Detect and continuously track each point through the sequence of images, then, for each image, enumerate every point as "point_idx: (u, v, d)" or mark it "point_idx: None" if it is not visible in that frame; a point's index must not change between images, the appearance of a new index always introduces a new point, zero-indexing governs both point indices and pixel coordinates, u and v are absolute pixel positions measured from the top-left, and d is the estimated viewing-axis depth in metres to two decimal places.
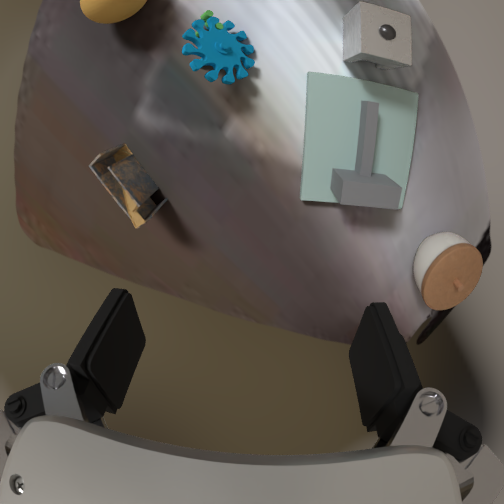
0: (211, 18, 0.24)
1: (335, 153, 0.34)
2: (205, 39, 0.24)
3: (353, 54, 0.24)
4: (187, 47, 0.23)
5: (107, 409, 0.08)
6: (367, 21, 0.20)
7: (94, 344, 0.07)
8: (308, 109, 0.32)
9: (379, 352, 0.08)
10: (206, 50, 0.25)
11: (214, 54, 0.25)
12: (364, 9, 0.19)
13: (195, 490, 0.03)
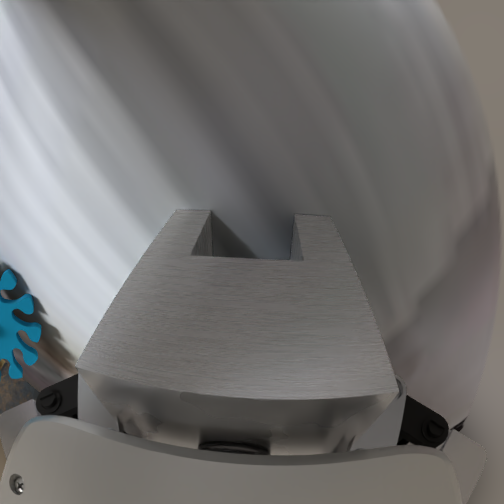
0: None
1: None
2: None
3: None
4: None
5: None
6: (142, 429, 0.06)
7: None
8: None
9: None
10: None
11: None
12: (111, 400, 0.05)
13: (195, 490, 0.03)
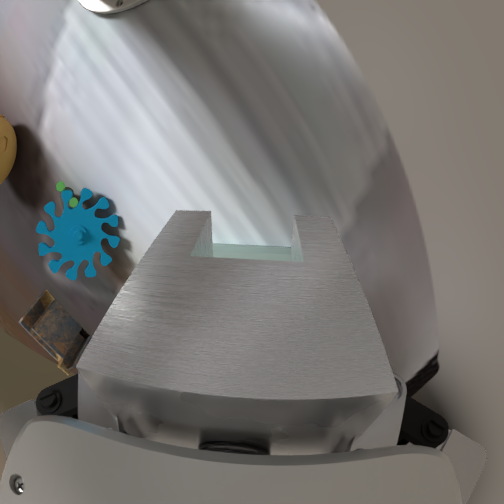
0: (62, 194, 0.23)
1: None
2: (58, 231, 0.23)
3: None
4: (40, 249, 0.22)
5: None
6: (143, 429, 0.06)
7: None
8: None
9: None
10: (60, 246, 0.24)
11: (69, 248, 0.25)
12: (111, 400, 0.05)
13: (195, 490, 0.03)
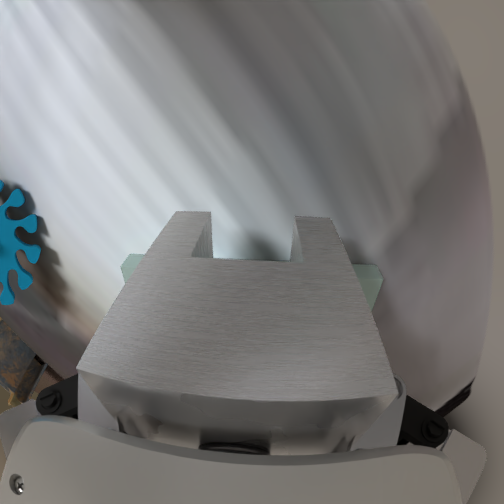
0: None
1: None
2: None
3: None
4: None
5: None
6: (143, 430, 0.06)
7: None
8: None
9: None
10: None
11: None
12: (111, 401, 0.05)
13: (195, 490, 0.03)
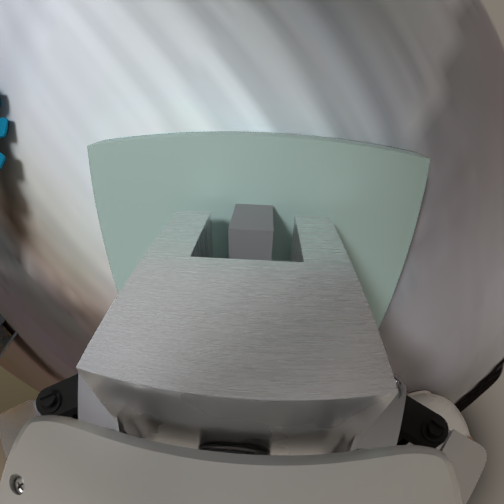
0: None
1: None
2: None
3: None
4: None
5: None
6: (143, 430, 0.06)
7: None
8: (106, 242, 0.13)
9: None
10: None
11: None
12: (111, 400, 0.05)
13: (195, 490, 0.03)
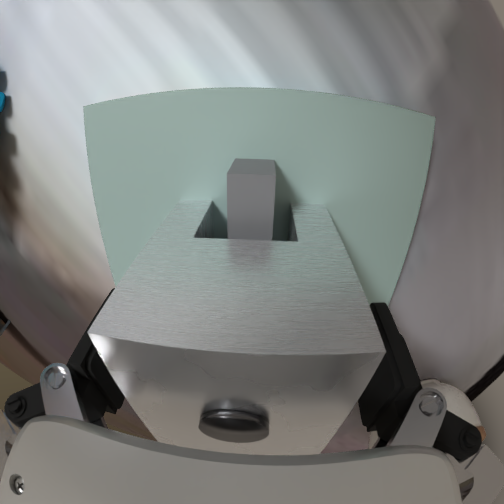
0: None
1: None
2: None
3: None
4: None
5: (107, 409, 0.08)
6: (147, 400, 0.07)
7: None
8: (98, 207, 0.12)
9: None
10: None
11: None
12: (118, 367, 0.06)
13: (195, 490, 0.03)
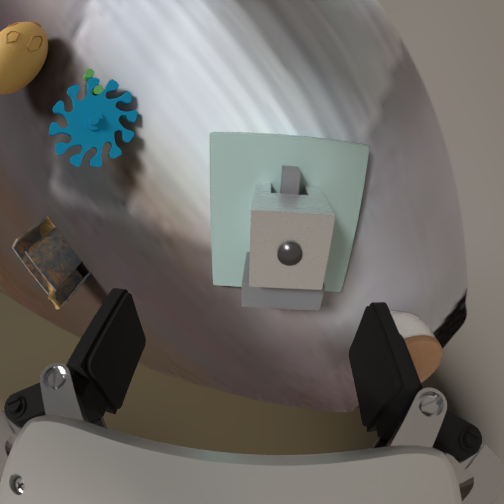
0: (89, 81, 0.20)
1: (249, 234, 0.30)
2: (74, 113, 0.21)
3: None
4: (51, 128, 0.19)
5: (107, 409, 0.08)
6: (259, 243, 0.22)
7: (94, 344, 0.07)
8: (211, 183, 0.28)
9: (379, 352, 0.08)
10: (73, 128, 0.21)
11: (81, 132, 0.22)
12: (256, 224, 0.21)
13: (195, 490, 0.03)
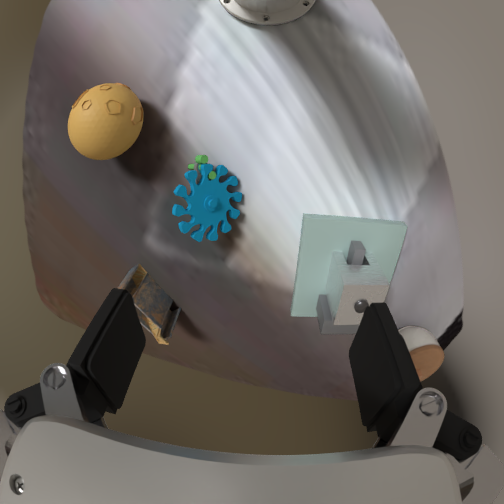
0: (205, 166, 0.32)
1: (322, 283, 0.42)
2: (195, 197, 0.32)
3: (330, 309, 0.38)
4: (177, 210, 0.31)
5: (107, 409, 0.08)
6: (345, 301, 0.34)
7: (94, 344, 0.07)
8: (301, 251, 0.40)
9: (379, 352, 0.08)
10: (195, 210, 0.33)
11: (202, 213, 0.33)
12: (345, 292, 0.33)
13: (195, 490, 0.03)
